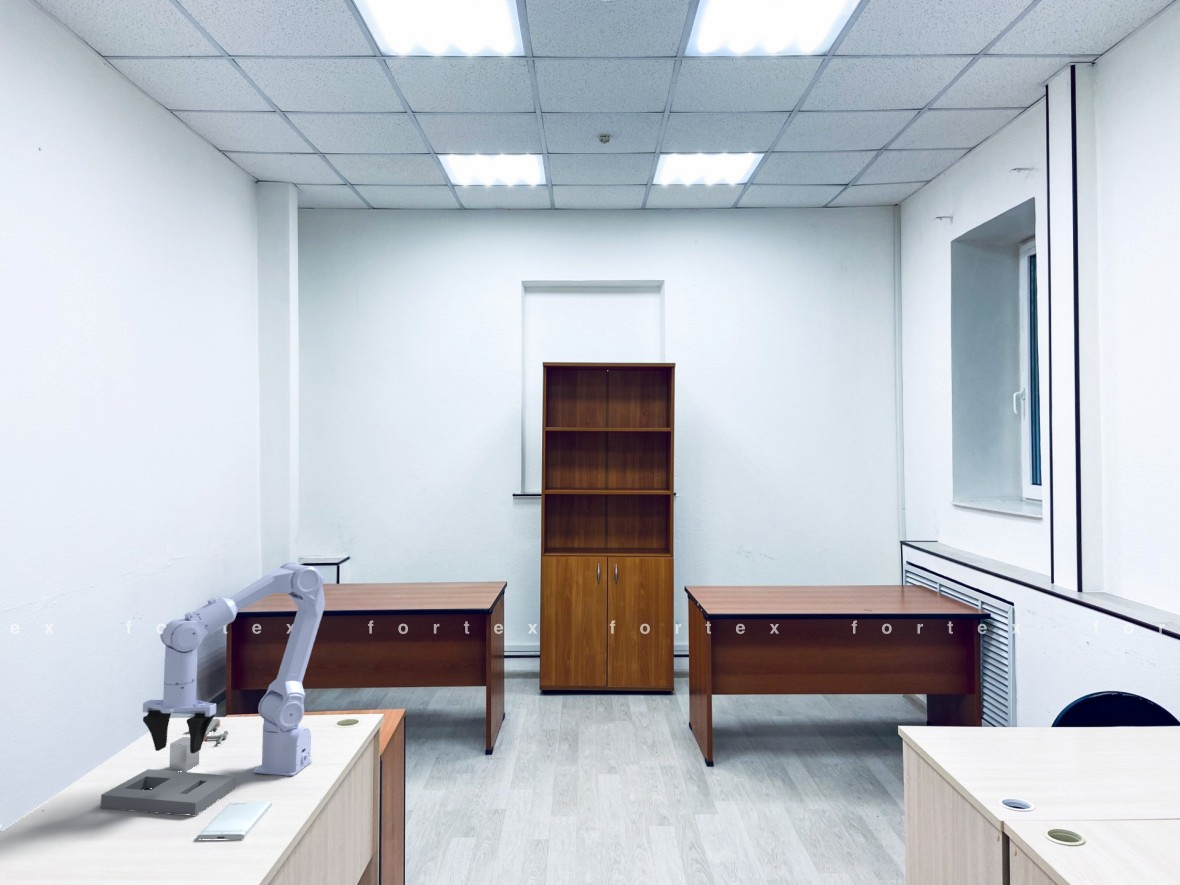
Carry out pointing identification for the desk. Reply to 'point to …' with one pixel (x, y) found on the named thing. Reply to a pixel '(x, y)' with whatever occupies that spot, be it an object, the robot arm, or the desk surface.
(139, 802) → the plate
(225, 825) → the hard drive
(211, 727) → the clamp
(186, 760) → the square bit
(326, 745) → the desk surface
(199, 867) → the desk surface
